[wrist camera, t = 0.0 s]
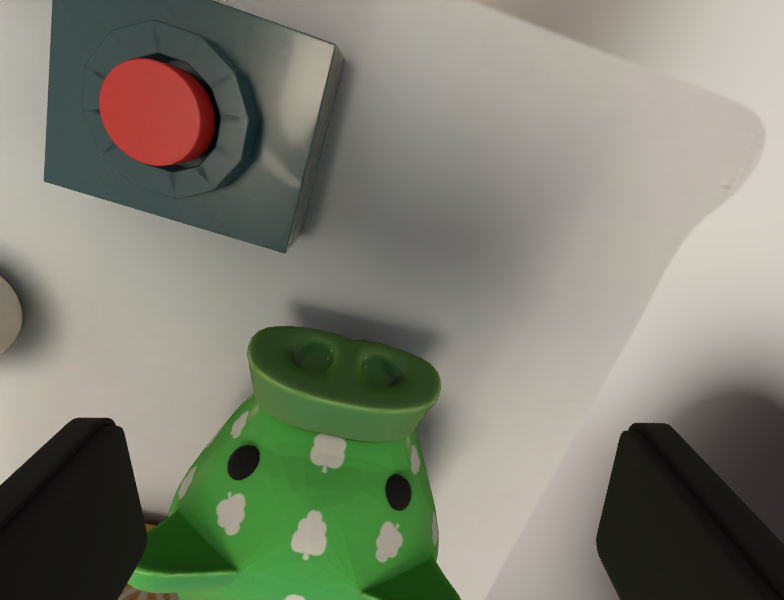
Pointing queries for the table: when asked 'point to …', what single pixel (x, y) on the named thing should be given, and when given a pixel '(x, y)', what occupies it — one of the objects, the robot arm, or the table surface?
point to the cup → (9, 315)
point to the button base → (230, 102)
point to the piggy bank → (309, 483)
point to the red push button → (156, 112)
